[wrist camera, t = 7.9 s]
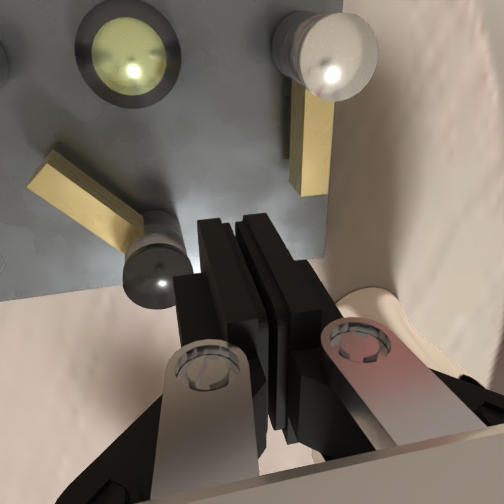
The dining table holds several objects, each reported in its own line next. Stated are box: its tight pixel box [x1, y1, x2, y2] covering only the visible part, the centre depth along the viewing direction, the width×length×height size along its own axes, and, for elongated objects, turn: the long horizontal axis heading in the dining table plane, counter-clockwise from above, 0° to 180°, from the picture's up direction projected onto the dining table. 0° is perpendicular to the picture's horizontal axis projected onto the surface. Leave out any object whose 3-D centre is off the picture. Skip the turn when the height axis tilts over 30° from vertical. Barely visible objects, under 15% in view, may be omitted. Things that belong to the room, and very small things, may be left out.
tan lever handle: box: [27, 149, 194, 309], centre depth 22 cm, size 8×3×5 cm, turn 44°
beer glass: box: [336, 287, 486, 389], centre depth 28 cm, size 7×7×15 cm
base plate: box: [0, 0, 343, 302], centre depth 23 cm, size 20×16×3 cm
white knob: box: [272, 11, 378, 197], centre depth 21 cm, size 8×3×5 cm, turn 1°
